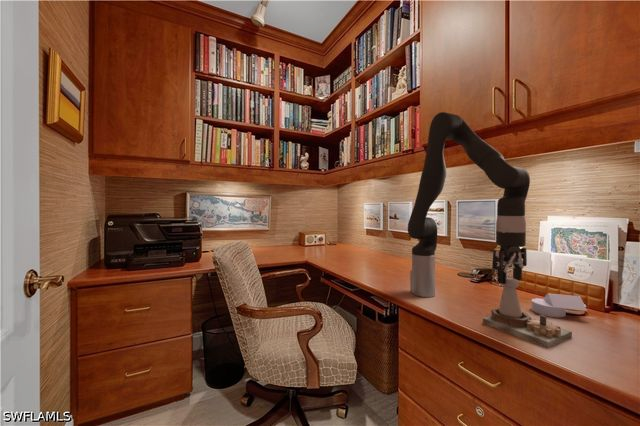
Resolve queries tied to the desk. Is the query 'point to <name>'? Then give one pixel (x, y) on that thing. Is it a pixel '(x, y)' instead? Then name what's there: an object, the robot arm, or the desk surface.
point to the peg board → (529, 328)
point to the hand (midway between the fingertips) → (509, 281)
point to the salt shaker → (510, 300)
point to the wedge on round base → (557, 304)
